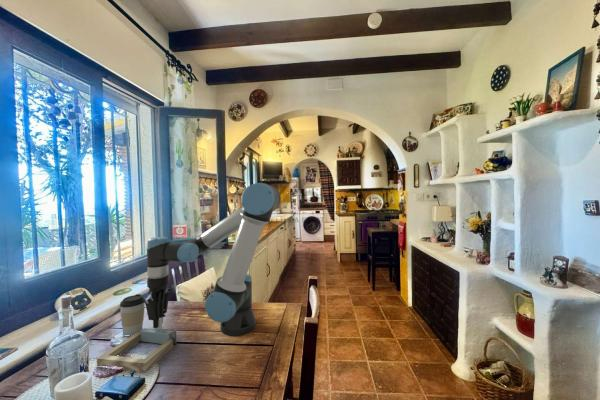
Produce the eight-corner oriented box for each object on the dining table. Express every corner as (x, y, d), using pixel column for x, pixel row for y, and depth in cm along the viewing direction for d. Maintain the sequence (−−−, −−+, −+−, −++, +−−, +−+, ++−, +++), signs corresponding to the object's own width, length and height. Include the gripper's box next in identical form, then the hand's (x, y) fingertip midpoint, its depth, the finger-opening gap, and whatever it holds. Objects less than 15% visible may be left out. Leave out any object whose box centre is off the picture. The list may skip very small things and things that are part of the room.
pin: (177, 343, 98) (177, 330, 98) (174, 345, 96) (174, 332, 96) (173, 343, 98) (173, 330, 98) (170, 345, 96) (170, 332, 97)
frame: (178, 343, 98) (178, 335, 98) (145, 372, 81) (145, 363, 81) (137, 339, 101) (137, 332, 101) (96, 367, 84) (96, 358, 84)
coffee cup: (132, 339, 101) (132, 301, 101) (114, 336, 103) (114, 300, 103) (150, 328, 110) (150, 293, 110) (132, 326, 112) (132, 292, 112)
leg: (172, 342, 98) (172, 331, 98) (168, 344, 97) (168, 334, 97) (144, 338, 101) (144, 328, 101) (140, 341, 99) (140, 330, 99)
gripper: (160, 270, 108) (160, 325, 108) (136, 280, 95) (136, 342, 95) (176, 271, 107) (176, 326, 107) (154, 281, 94) (154, 344, 94)
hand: (158, 334), depth 101 cm, fingers closed
